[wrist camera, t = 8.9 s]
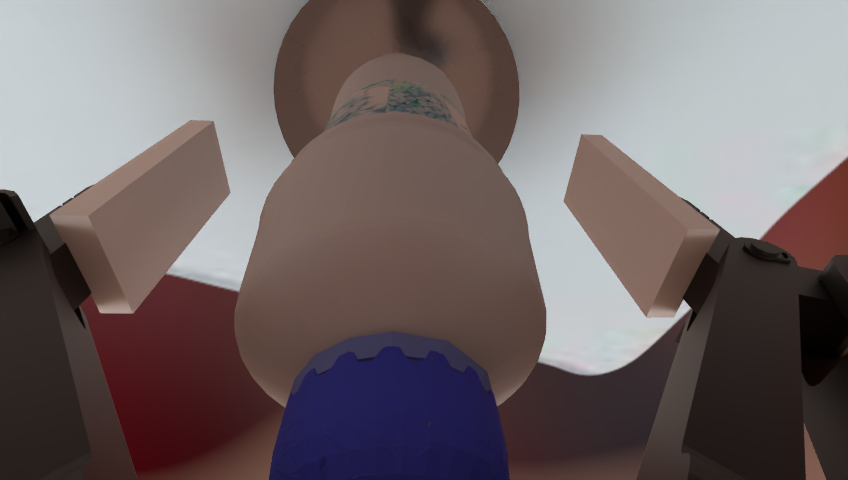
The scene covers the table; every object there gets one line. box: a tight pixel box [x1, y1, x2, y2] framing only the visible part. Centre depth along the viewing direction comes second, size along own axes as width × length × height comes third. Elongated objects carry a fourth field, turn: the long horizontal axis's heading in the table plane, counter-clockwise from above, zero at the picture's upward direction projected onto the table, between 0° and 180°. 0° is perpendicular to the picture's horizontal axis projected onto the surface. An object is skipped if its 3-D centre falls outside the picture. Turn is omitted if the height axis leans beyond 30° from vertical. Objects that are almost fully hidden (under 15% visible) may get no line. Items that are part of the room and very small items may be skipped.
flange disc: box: [274, 0, 519, 164], centre depth 22 cm, size 13×13×1 cm
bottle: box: [234, 53, 546, 480], centre depth 13 cm, size 7×7×20 cm
